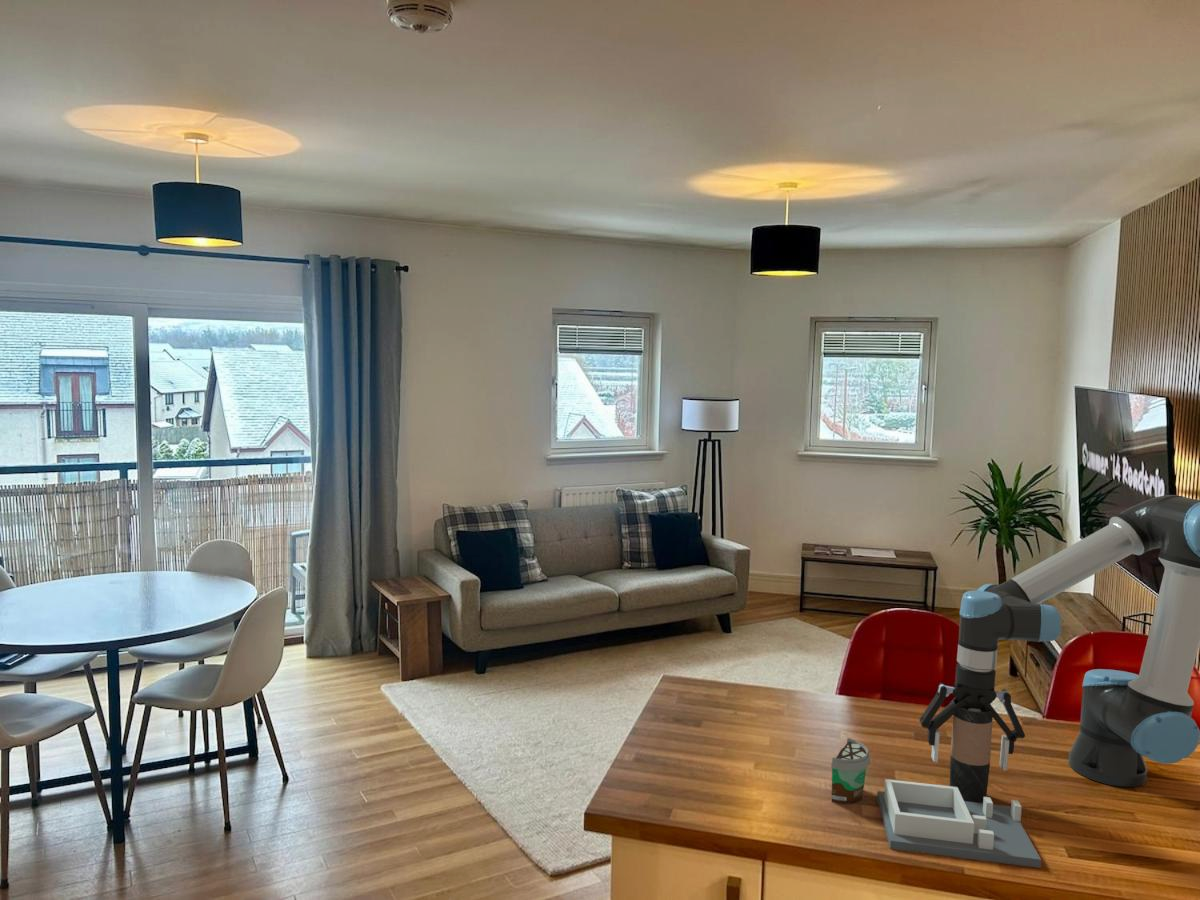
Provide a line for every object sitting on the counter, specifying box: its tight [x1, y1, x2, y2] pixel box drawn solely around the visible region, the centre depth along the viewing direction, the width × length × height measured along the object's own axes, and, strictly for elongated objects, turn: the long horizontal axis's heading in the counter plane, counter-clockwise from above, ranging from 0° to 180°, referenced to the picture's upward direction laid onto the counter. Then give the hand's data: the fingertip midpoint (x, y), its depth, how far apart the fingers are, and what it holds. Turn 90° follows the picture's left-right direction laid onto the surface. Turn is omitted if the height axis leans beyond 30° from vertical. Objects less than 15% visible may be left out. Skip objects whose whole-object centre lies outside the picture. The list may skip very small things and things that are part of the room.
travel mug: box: [949, 707, 994, 803], centre depth 174 cm, size 8×8×20 cm
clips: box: [972, 796, 1023, 850], centre depth 159 cm, size 10×14×3 cm
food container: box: [830, 737, 871, 805], centre depth 173 cm, size 12×6×10 cm, turn 148°
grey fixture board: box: [876, 790, 1042, 869], centre depth 161 cm, size 26×19×2 cm
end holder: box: [883, 778, 974, 844], centre depth 162 cm, size 14×14×4 cm
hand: (968, 763), depth 174 cm, fingers open, 13 cm apart
